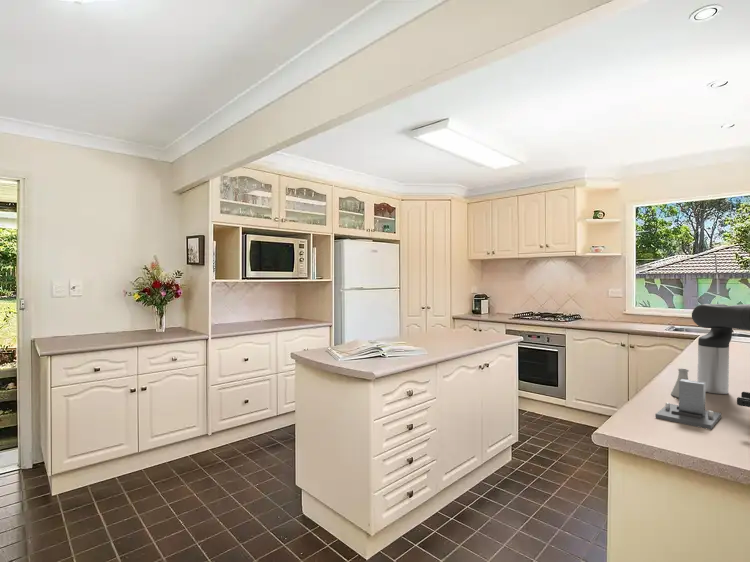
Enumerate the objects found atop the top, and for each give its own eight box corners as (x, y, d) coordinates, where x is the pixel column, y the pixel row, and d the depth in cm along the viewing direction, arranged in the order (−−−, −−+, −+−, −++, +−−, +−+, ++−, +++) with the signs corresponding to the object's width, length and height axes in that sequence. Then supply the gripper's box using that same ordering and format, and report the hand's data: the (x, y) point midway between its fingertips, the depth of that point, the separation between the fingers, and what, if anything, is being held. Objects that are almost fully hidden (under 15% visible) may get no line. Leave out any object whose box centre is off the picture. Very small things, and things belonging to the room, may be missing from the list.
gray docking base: (655, 417, 130) (655, 407, 130) (668, 407, 141) (669, 397, 141) (711, 429, 120) (711, 418, 120) (721, 417, 131) (721, 406, 131)
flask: (699, 400, 150) (699, 371, 150) (676, 398, 151) (676, 370, 151) (688, 394, 157) (689, 367, 157) (666, 393, 158) (667, 366, 158)
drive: (678, 413, 131) (679, 380, 131) (681, 410, 134) (681, 379, 133) (703, 417, 127) (703, 384, 127) (705, 415, 129) (705, 382, 129)
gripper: (821, 391, 115) (742, 380, 127) (820, 402, 105) (735, 389, 117) (821, 419, 115) (742, 406, 127) (820, 432, 105) (735, 416, 117)
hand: (739, 398), depth 122 cm, fingers open, 8 cm apart
